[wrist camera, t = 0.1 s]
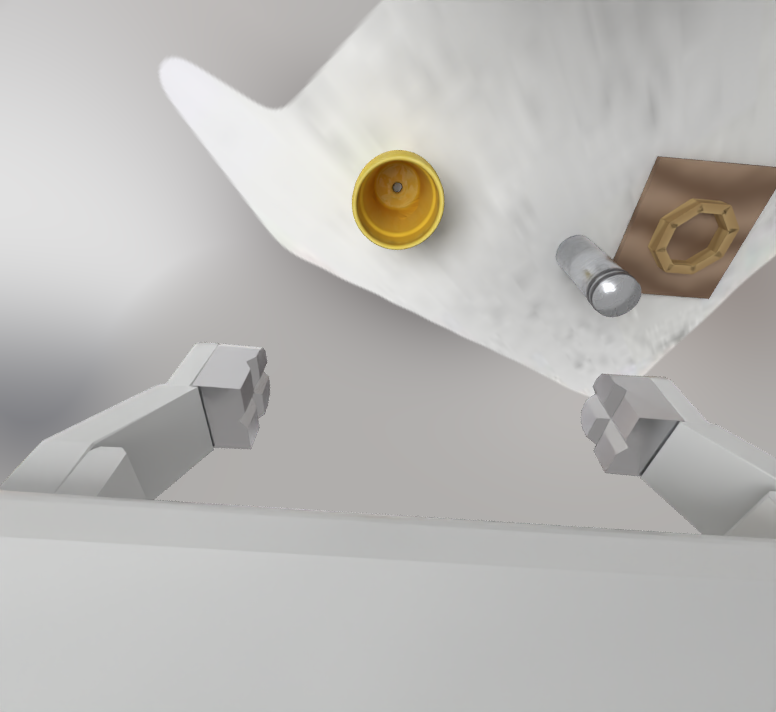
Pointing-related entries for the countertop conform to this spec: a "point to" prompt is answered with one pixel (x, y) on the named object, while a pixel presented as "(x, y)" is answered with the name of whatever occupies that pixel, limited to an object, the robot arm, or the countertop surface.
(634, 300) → the piston
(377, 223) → the plant pot
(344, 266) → the countertop surface
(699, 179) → the ring stand
